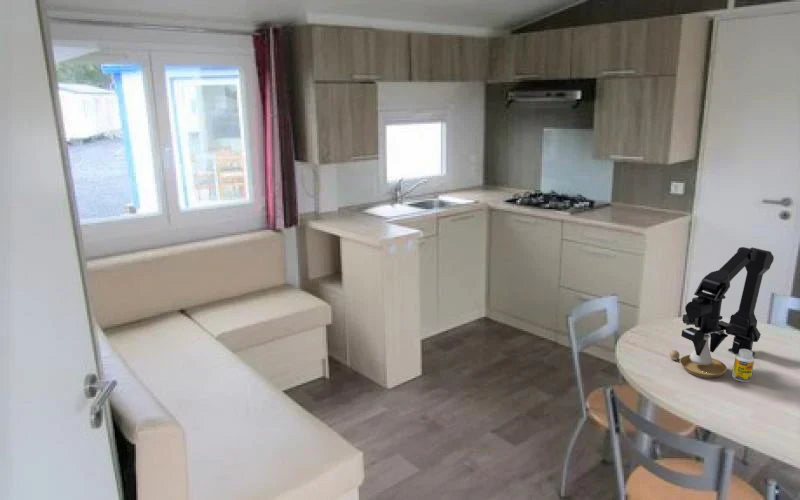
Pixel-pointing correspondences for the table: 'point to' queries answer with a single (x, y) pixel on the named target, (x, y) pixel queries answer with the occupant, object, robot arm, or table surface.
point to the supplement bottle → (743, 365)
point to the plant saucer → (703, 368)
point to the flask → (702, 354)
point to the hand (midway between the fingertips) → (704, 353)
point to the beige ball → (674, 355)
